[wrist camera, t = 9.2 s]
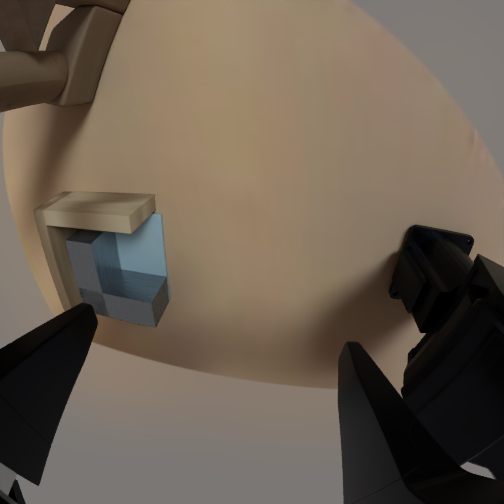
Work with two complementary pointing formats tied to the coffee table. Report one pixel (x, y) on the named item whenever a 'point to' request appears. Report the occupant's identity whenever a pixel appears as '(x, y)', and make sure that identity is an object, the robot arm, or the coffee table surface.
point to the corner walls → (84, 217)
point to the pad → (144, 248)
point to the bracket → (114, 280)
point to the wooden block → (54, 51)
